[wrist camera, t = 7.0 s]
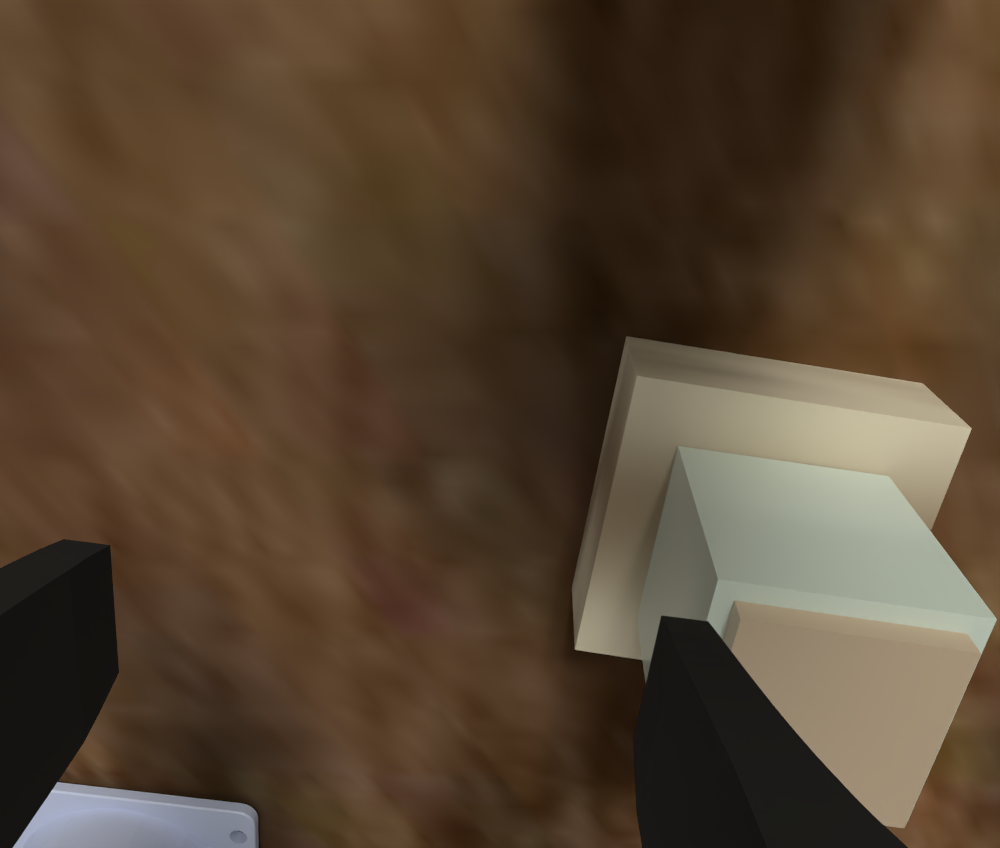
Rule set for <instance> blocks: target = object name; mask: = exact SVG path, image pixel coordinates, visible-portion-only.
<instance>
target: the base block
mask: <svg viewBox="0 0 1000 848" xmlns="http://www.w3.org/2000/svg"><path fill="white" fill-rule="evenodd" d="M971 429H972V428H971V427H970V426H968V425H967V424H966V423H965V422H964V421H963V420H962V419H961V418H960V417H959V416H958V415H956V414H955V413H954V412H953V411H952V410H951V409H950V408H949V407H948V406H947V405H946V404H944V403H943V402H942V401H941V400H940V399H939V398H938V397H937V396H936V395H935V394H934V393H932V392H931V391H930V390H929V389H928V388H927V387H926V386H925V385H924V384H923V383H917V382H910V381H904V380H898V379H892V378H885V377H879V376H873V375H867V374H860V373H854V372H848V371H842V370H835V369H829V368H823V367H817V366H810V365H804V364H798V363H792V362H785V361H779V360H773V359H767V358H760V357H754V356H748V355H742V354H735V353H729V352H723V351H716V350H710V349H704V348H698V347H691V346H685V345H679V344H673V343H666V342H660V341H654V340H648V339H641V338H635V337H629V336H626V339H625V344H624V349H623V353H622V358H621V363H620V367H619V372H618V376H617V381H616V386H615V390H614V395H613V400H612V404H611V409H610V413H609V418H608V423H607V427H606V432H605V437H604V441H603V446H602V450H601V455H600V460H599V464H598V469H597V474H596V478H595V483H594V487H593V492H592V497H591V501H590V506H589V511H588V515H587V520H586V524H585V529H584V534H583V538H582V543H581V548H580V552H579V557H578V561H577V566H576V571H575V575H574V580H573V585H572V600H573V621H574V643H575V650H580V651H586V652H593V653H599V654H606V655H613V656H619V657H626V658H632V659H639V660H642V654H641V647H640V640H639V633H638V625H637V616H638V612H639V608H640V603H641V599H642V595H643V591H644V586H645V582H646V578H647V574H648V569H649V565H650V561H651V557H652V553H653V548H654V544H655V540H656V536H657V532H658V527H659V523H660V519H661V515H662V511H663V506H664V502H665V498H666V494H667V490H668V485H669V481H670V477H671V473H672V469H673V464H674V460H675V456H676V452H677V448H678V446H683V447H690V448H697V449H704V450H711V451H718V452H725V453H732V454H739V455H745V456H752V457H759V458H766V459H773V460H780V461H787V462H794V463H801V464H808V465H815V466H822V467H829V468H836V469H843V470H850V471H857V472H864V473H871V474H878V475H885V476H889V477H890V479H891V480H892V481H893V482H894V484H895V485H896V486H897V488H898V489H899V490H900V492H901V493H902V494H903V496H904V497H905V498H906V500H907V501H908V502H909V504H910V505H911V506H912V508H913V509H914V510H915V512H916V513H917V514H918V516H919V517H920V518H921V520H922V521H923V522H924V524H925V525H926V526H927V527H928V529H929V530H930V531H931V529H932V526H933V524H934V521H935V519H936V516H937V514H938V511H939V509H940V506H941V504H942V501H943V499H944V496H945V494H946V491H947V489H948V486H949V484H950V481H951V479H952V476H953V474H954V471H955V469H956V466H957V464H958V461H959V459H960V456H961V454H962V451H963V449H964V446H965V444H966V441H967V439H968V436H969V434H970V431H971Z"/></svg>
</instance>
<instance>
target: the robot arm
mask: <svg viewBox="0 0 1000 848" xmlns="http://www.w3.org/2000/svg"><path fill="white" fill-rule="evenodd" d="M118 673H119V668H118V654H117V639H116V625H115V610H114V596H113V581H112V567H111V552H110V545H104V544H96V543H89V542H81V541H73V540H65V539H63V540H61V541H58V542H56V543H53V544H51V545H48V546H46V547H44V548H42V549H39V550H37V551H35V552H33V553H31V554H29V555H27V556H24V557H22V558H20V559H18V560H16V561H14V562H12V563H10V564H8V565H6V566H4V567H2V568H0V848H259V838H258V815H257V812H256V811H255V810H254V809H253V808H252V807H251V806H249V805H247V804H243V803H235V802H227V801H218V800H209V799H200V798H192V797H183V796H174V795H165V794H157V793H148V792H139V791H131V790H122V789H113V788H104V787H96V786H87V785H78V784H70V783H61V782H58V780H59V779H60V777H61V776H62V774H63V773H64V771H65V770H66V768H67V767H68V766H69V764H70V763H71V761H72V760H73V758H74V756H75V755H76V753H77V752H78V750H79V749H80V747H81V746H82V744H83V743H84V741H85V739H86V737H87V735H88V733H89V731H90V730H91V728H92V726H93V724H94V722H95V720H96V718H97V716H98V714H99V712H100V710H101V708H102V706H103V704H104V702H105V700H106V698H107V696H108V694H109V692H110V690H111V687H112V685H113V683H114V681H115V679H116V677H117V675H118ZM634 765H635V788H636V807H637V817H638V823H639V830H640V836H641V842H642V848H908V847H907V846H906V845H904V844H903V843H902V842H901V841H900V840H899V839H898V838H897V837H896V836H895V835H894V834H893V833H892V832H890V831H889V830H888V829H887V828H886V827H885V826H884V825H883V824H882V823H881V822H880V821H879V820H878V819H877V818H876V817H874V816H873V815H872V814H871V813H870V812H869V811H868V810H867V809H866V808H865V807H864V806H863V805H862V804H861V803H860V802H859V801H858V800H857V799H856V798H855V796H854V795H853V794H852V793H851V792H850V791H849V790H848V789H847V788H846V787H845V786H844V785H843V784H842V783H841V782H840V781H839V779H838V778H837V777H836V776H835V775H834V774H833V773H832V772H831V771H830V770H829V769H828V768H827V767H826V766H825V764H824V763H823V762H822V761H821V760H820V759H819V758H818V757H817V756H816V755H815V753H814V752H813V751H812V750H811V749H810V748H809V747H808V745H807V744H806V743H805V742H804V741H803V740H802V739H801V738H800V736H799V735H798V734H797V733H796V732H795V730H794V729H793V728H792V727H791V726H790V725H789V723H788V722H787V721H786V720H785V719H784V717H783V716H782V715H781V714H780V713H779V711H778V710H777V709H776V708H775V706H774V705H773V704H772V703H771V702H770V700H769V699H768V698H767V697H766V695H765V694H764V693H763V692H762V690H761V689H760V688H759V686H758V685H757V684H756V683H755V681H754V680H753V679H752V677H751V676H750V675H749V674H748V672H747V671H746V670H745V668H744V667H743V666H742V665H741V663H740V662H739V661H738V659H737V658H736V657H735V655H734V654H733V653H732V651H731V650H730V649H729V648H728V646H727V645H726V644H725V642H724V641H723V640H722V638H721V637H720V636H719V634H718V633H717V632H716V631H715V629H714V628H713V627H712V625H711V624H710V623H709V622H708V621H702V620H694V619H686V618H678V617H671V616H663V615H661V619H660V623H659V628H658V632H657V636H656V641H655V645H654V650H653V654H652V659H651V663H650V667H649V672H648V676H647V681H646V685H645V689H644V694H643V698H642V703H641V707H640V712H639V716H638V720H637V725H636V729H635V734H634ZM238 831H241V832H238ZM242 832H243V833H242Z"/></svg>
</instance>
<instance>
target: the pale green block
mask: <svg viewBox="0 0 1000 848" xmlns="http://www.w3.org/2000/svg"><path fill="white" fill-rule="evenodd" d="M661 615H663V616H671V617H678V618H686V619H694V620H702V621H708V622H709V623H710V624H711V625H712V627H713V628H714V629H715V631H716V632H717V633H718V634H719V636H720V637H721V638H722V640H723V641H724V642H725V644H726V645H727V646H728V648H729V649H730V650H731V651H732V653H733V654H734V655H735V657H736V658H737V659H738V661H739V662H740V663H741V665H742V666H743V667H744V668H745V670H746V671H747V672H748V674H749V675H750V676H751V677H752V679H753V680H754V681H755V683H756V684H757V685H758V686H759V688H760V689H761V690H762V692H763V693H764V694H765V695H766V697H767V698H768V699H769V700H770V702H771V703H772V704H773V705H774V706H775V708H776V709H777V710H778V711H779V713H780V714H781V715H782V716H783V717H784V719H785V720H786V721H787V722H788V723H789V725H790V726H791V727H792V728H793V729H794V730H795V732H796V733H797V734H798V735H799V736H800V738H801V739H802V740H803V741H804V742H805V743H806V744H807V745H808V747H809V748H810V749H811V750H812V751H813V752H814V753H815V755H816V756H817V757H818V758H819V759H820V760H821V761H822V762H823V763H824V764H825V766H826V767H827V768H828V769H829V770H830V771H831V772H832V773H833V774H834V775H835V776H836V777H837V778H838V779H839V781H840V782H841V783H842V784H843V785H844V786H845V787H846V788H847V789H848V790H849V791H850V792H851V793H852V794H853V795H854V796H855V798H856V799H857V800H858V801H859V802H860V803H861V804H862V805H863V806H864V807H865V808H866V809H867V810H868V811H869V812H870V813H871V814H872V815H873V816H874V817H876V818H877V819H878V820H879V821H880V822H881V823H882V824H883V825H884V826H891V827H898V828H904V827H905V825H906V823H907V821H908V819H909V817H910V815H911V812H912V810H913V808H914V806H915V803H916V801H917V799H918V796H919V794H920V792H921V790H922V787H923V785H924V783H925V781H926V778H927V776H928V774H929V772H930V769H931V767H932V765H933V763H934V760H935V758H936V756H937V753H938V751H939V749H940V747H941V744H942V742H943V740H944V738H945V735H946V733H947V731H948V729H949V726H950V724H951V722H952V720H953V717H954V715H955V713H956V710H957V708H958V706H959V704H960V701H961V699H962V697H963V695H964V692H965V690H966V688H967V686H968V683H969V681H970V679H971V676H972V674H973V672H974V670H975V667H976V665H977V663H978V661H979V658H980V656H981V654H982V652H983V649H984V647H985V645H986V643H987V640H988V638H989V636H990V633H991V631H992V629H993V627H994V624H995V622H996V620H997V619H996V618H995V616H994V615H993V614H992V612H991V611H990V610H989V608H988V607H987V606H986V604H985V603H984V602H983V600H982V599H981V598H980V596H979V595H978V594H977V592H976V591H975V590H974V588H973V587H972V586H971V584H970V583H969V582H968V580H967V579H966V578H965V576H964V575H963V574H962V573H961V571H960V570H959V569H958V567H957V566H956V565H955V563H954V562H953V561H952V559H951V558H950V557H949V555H948V554H947V553H946V551H945V550H944V549H943V547H942V546H941V545H940V543H939V542H938V541H937V539H936V538H935V537H934V535H933V534H932V533H931V531H930V530H929V529H928V527H927V526H926V525H925V524H924V522H923V521H922V520H921V518H920V517H919V516H918V514H917V513H916V512H915V510H914V509H913V508H912V506H911V505H910V504H909V502H908V501H907V500H906V498H905V497H904V496H903V494H902V493H901V492H900V490H899V489H898V488H897V486H896V485H895V484H894V482H893V481H892V480H891V479H890V477H889V476H885V475H878V474H871V473H864V472H857V471H850V470H843V469H836V468H829V467H822V466H815V465H808V464H801V463H794V462H787V461H780V460H773V459H766V458H759V457H752V456H745V455H739V454H732V453H725V452H718V451H711V450H704V449H697V448H690V447H683V446H678V448H677V452H676V456H675V460H674V464H673V469H672V473H671V477H670V481H669V485H668V490H667V494H666V498H665V502H664V506H663V511H662V515H661V519H660V523H659V527H658V532H657V536H656V540H655V544H654V548H653V553H652V557H651V561H650V565H649V569H648V574H647V578H646V582H645V586H644V591H643V595H642V599H641V603H640V608H639V612H638V616H637V625H638V633H639V640H640V647H641V654H642V661H643V668H644V675H645V682H646V681H647V676H648V672H649V667H650V663H651V659H652V654H653V650H654V645H655V641H656V636H657V632H658V628H659V623H660V619H661Z"/></svg>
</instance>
